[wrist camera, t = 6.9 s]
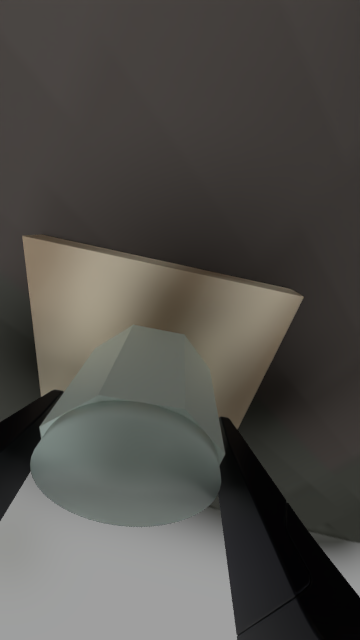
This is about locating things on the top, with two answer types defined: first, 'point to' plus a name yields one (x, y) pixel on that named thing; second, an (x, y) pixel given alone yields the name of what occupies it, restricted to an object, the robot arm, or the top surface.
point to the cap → (134, 434)
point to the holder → (152, 314)
